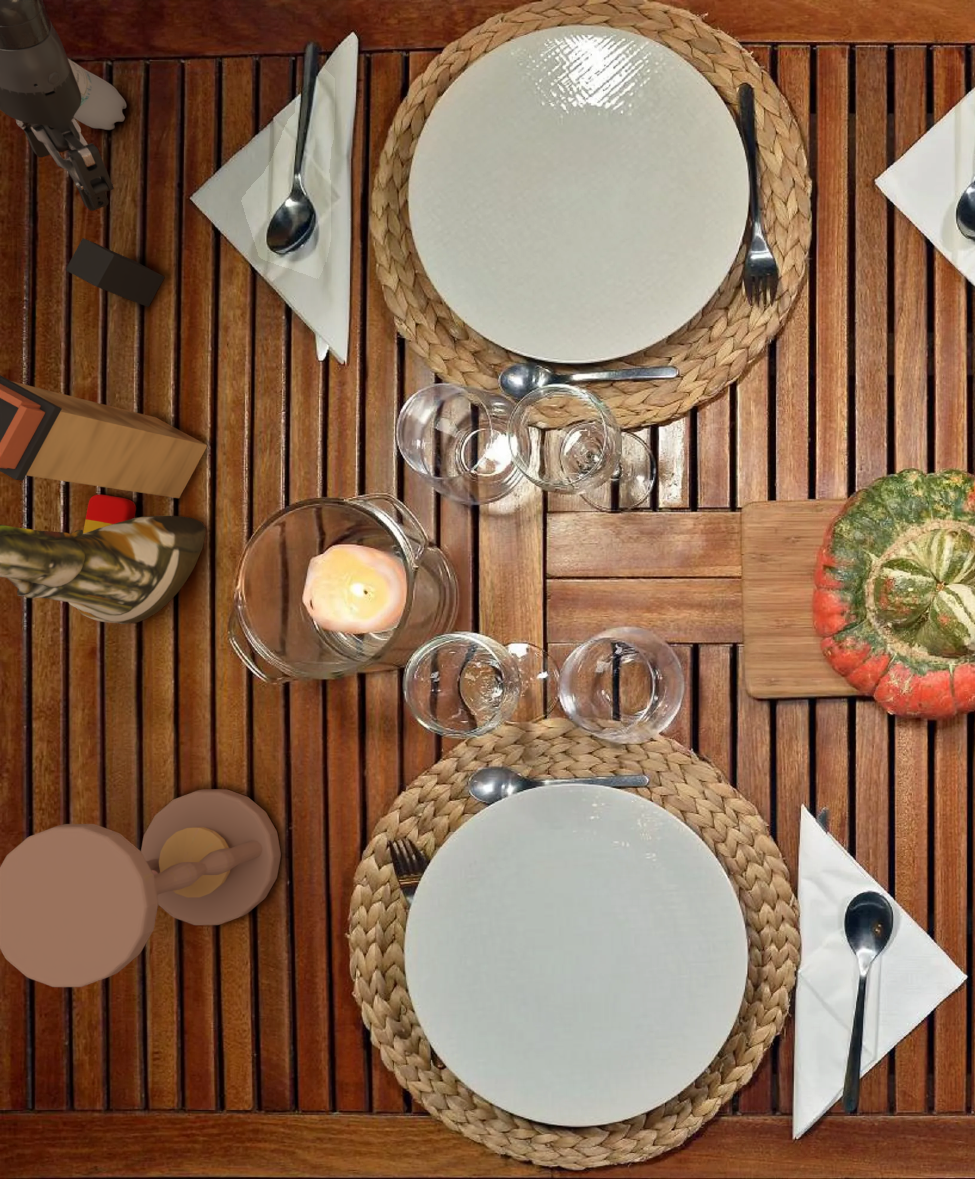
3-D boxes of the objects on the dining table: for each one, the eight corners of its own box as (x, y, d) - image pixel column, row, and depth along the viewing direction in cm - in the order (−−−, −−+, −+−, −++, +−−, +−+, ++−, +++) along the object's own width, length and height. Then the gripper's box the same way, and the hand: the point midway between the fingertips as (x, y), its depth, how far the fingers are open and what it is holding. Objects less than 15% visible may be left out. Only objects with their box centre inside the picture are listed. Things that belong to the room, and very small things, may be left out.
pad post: (118, 291, 143) (65, 270, 134) (135, 261, 143) (82, 237, 134) (148, 307, 143) (96, 287, 134) (165, 277, 143) (114, 254, 134)
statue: (174, 496, 142) (-68, 460, 107) (237, 547, 142) (15, 527, 107) (97, 594, 142) (-170, 590, 107) (160, 645, 142) (-88, 657, 107)
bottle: (139, 128, 143) (12, 50, 123) (91, 142, 143) (-43, 66, 123) (126, 80, 143) (-2, -6, 123) (79, 94, 143) (-57, 10, 123)
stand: (127, 470, 142) (-42, 440, 117) (155, 417, 142) (-7, 376, 117) (179, 498, 142) (21, 474, 117) (207, 445, 142) (56, 410, 117)
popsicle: (139, 500, 142) (128, 499, 140) (119, 612, 142) (108, 612, 140) (99, 493, 142) (88, 492, 140) (79, 605, 142) (68, 604, 140)
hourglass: (284, 790, 141) (148, 829, 116) (279, 923, 141) (142, 991, 116) (152, 786, 141) (-11, 824, 116) (147, 919, 141) (-18, 985, 116)
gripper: (-67, 23, 104) (-6, 147, 118) (30, 124, 104) (80, 237, 117) (14, 1, 108) (64, 124, 122) (109, 98, 108) (148, 210, 121)
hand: (72, 179), depth 120 cm, fingers open, 8 cm apart
